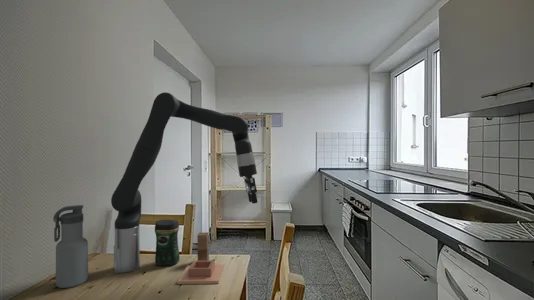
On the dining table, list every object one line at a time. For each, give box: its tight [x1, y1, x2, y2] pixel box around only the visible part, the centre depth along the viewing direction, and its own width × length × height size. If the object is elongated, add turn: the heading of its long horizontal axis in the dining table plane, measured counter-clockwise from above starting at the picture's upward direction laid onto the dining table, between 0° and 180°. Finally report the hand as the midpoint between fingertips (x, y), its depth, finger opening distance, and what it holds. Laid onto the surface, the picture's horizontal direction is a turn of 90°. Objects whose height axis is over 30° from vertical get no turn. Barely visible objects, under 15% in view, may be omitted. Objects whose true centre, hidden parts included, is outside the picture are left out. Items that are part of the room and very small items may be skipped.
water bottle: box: [52, 204, 89, 289], centre depth 105 cm, size 10×10×28 cm
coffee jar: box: [154, 219, 180, 266], centre depth 123 cm, size 10×8×19 cm
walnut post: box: [196, 231, 210, 261], centre depth 124 cm, size 4×4×12 cm
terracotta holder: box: [176, 259, 225, 285], centre depth 110 cm, size 15×15×4 cm
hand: (253, 202), depth 121 cm, fingers open, 8 cm apart
